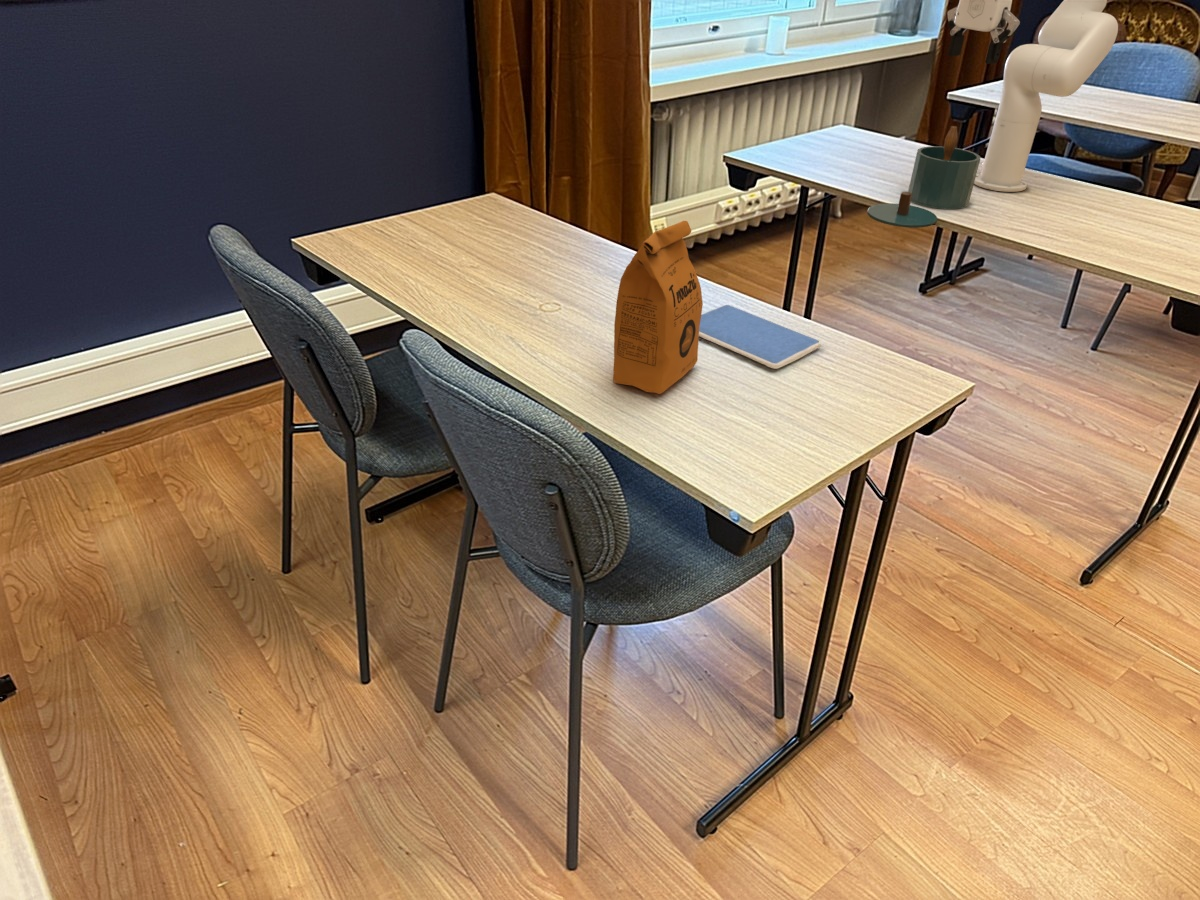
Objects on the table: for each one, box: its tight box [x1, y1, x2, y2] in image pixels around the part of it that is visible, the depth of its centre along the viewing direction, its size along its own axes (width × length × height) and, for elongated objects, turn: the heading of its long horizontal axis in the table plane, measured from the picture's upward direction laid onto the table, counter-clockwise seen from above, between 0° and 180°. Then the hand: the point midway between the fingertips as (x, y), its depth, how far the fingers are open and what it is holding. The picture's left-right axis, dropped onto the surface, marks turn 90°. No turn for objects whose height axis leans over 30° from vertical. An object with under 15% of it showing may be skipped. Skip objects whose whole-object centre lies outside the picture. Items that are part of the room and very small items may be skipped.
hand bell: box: [943, 125, 959, 161], centre depth 196 cm, size 8×8×16 cm
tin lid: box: [866, 191, 938, 229], centre depth 186 cm, size 15×15×6 cm
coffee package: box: [612, 220, 704, 394], centre depth 119 cm, size 10×12×22 cm
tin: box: [907, 145, 981, 210], centre depth 198 cm, size 14×14×10 cm
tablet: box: [699, 304, 822, 369], centre depth 135 cm, size 19×13×1 cm, turn 44°
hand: (972, 59), depth 184 cm, fingers open, 9 cm apart
